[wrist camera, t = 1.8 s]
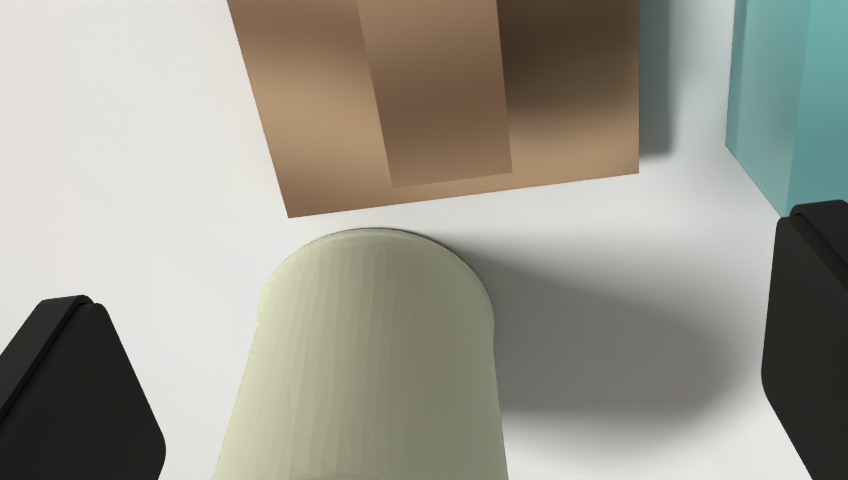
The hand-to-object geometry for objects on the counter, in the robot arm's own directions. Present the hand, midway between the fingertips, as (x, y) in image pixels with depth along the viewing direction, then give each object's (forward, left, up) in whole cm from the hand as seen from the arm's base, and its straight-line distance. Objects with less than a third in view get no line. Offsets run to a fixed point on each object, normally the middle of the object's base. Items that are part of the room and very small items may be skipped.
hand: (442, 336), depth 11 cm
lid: (-1, 0, -14) cm, 14 cm away
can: (+11, -4, -15) cm, 19 cm away
